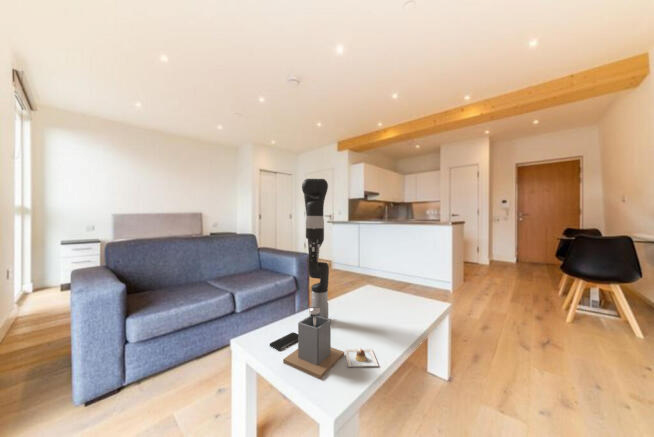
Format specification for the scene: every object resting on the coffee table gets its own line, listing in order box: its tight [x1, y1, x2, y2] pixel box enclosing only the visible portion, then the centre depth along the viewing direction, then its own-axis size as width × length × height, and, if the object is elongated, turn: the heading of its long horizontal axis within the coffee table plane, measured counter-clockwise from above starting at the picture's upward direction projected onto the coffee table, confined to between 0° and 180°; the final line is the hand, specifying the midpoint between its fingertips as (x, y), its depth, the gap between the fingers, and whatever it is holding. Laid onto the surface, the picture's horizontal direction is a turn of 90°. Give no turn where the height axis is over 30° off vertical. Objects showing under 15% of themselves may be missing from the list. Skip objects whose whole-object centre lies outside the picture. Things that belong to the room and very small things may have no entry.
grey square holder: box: [282, 315, 345, 380], centre depth 98 cm, size 18×18×16 cm
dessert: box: [344, 348, 379, 368], centre depth 98 cm, size 12×12×5 cm
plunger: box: [308, 306, 320, 327], centre depth 98 cm, size 8×8×17 cm
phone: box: [269, 332, 298, 352], centre depth 111 cm, size 8×1×15 cm
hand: (314, 268), depth 98 cm, fingers open, 2 cm apart
